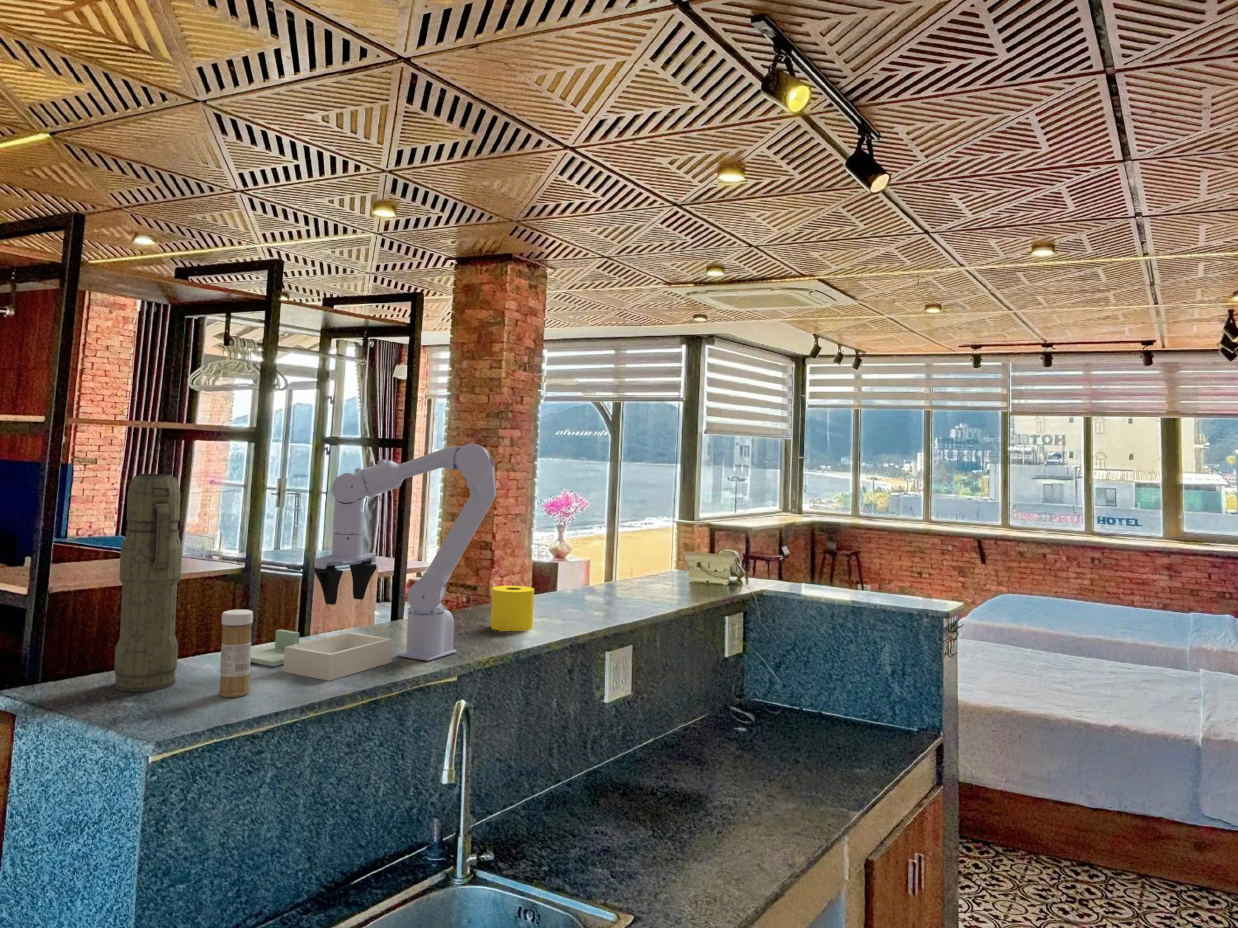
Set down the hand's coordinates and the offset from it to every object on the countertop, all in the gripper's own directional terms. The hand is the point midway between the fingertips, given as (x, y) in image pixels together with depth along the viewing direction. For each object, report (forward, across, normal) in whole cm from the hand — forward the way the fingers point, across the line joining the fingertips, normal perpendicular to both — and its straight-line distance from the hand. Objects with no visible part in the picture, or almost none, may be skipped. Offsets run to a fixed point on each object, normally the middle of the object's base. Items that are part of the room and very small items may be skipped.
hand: (344, 601), depth 157 cm
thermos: (+11, +34, -10) cm, 37 cm away
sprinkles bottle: (+11, +30, +6) cm, 32 cm away
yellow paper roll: (+11, -42, +13) cm, 45 cm away
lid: (+11, +7, -8) cm, 15 cm away
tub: (+10, +8, +7) cm, 15 cm away
